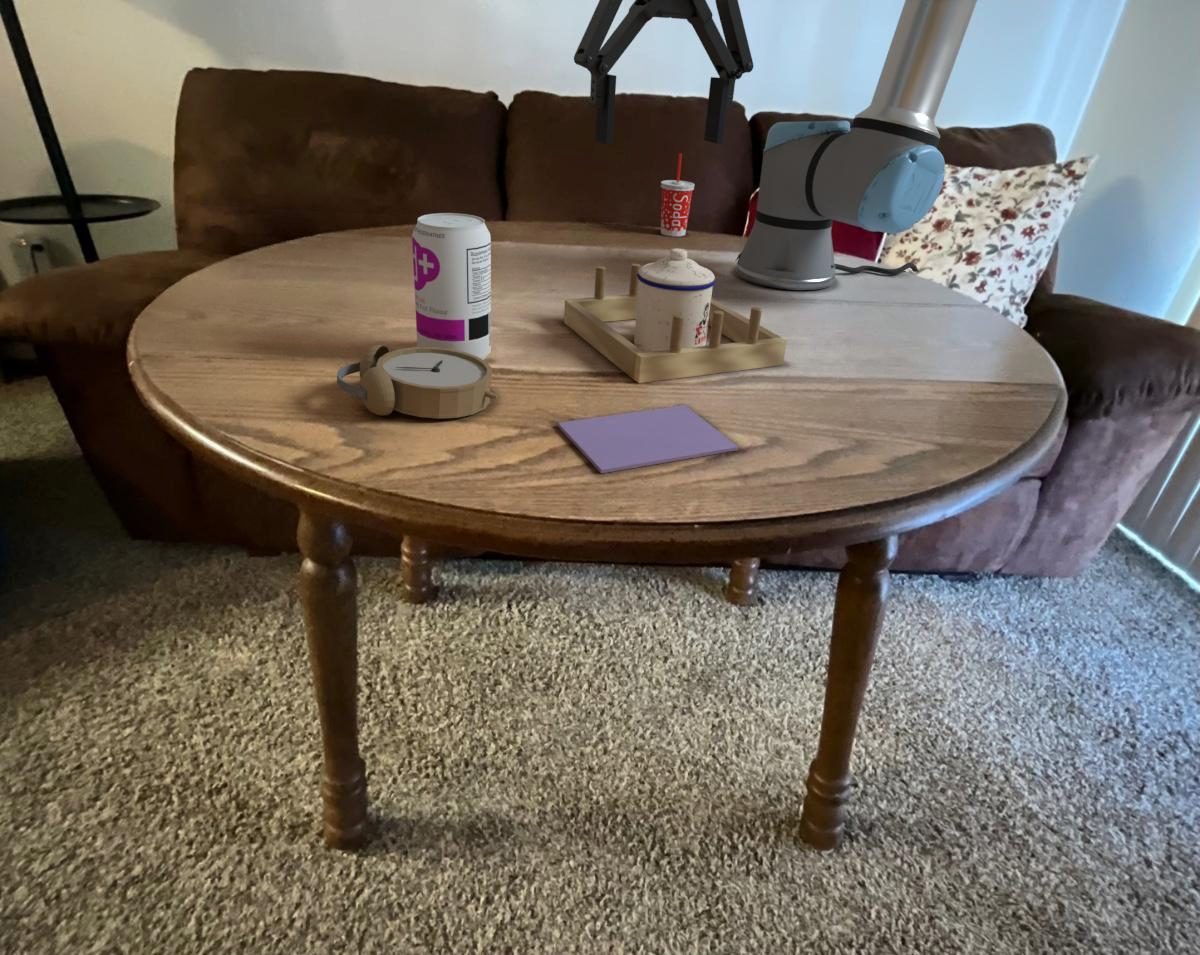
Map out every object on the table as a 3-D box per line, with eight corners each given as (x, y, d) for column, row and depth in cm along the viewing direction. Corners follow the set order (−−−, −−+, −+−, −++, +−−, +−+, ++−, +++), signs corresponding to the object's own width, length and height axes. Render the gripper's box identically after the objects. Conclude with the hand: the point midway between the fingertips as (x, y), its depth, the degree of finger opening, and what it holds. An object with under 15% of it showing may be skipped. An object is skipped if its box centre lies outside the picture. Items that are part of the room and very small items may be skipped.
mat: (684, 408, 86) (684, 404, 86) (737, 450, 78) (738, 446, 78) (557, 426, 81) (557, 422, 81) (601, 473, 73) (601, 469, 73)
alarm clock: (503, 390, 80) (338, 370, 75) (494, 437, 82) (333, 420, 77) (487, 349, 90) (340, 329, 85) (479, 392, 92) (335, 375, 87)
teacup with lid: (711, 362, 98) (723, 262, 93) (633, 358, 98) (640, 257, 93) (700, 328, 109) (711, 237, 103) (630, 325, 109) (636, 233, 103)
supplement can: (431, 372, 91) (425, 230, 84) (409, 347, 97) (402, 213, 90) (501, 363, 94) (502, 226, 87) (476, 339, 101) (474, 210, 93)
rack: (692, 310, 116) (698, 259, 112) (783, 365, 99) (793, 306, 96) (563, 322, 108) (565, 268, 105) (637, 383, 91) (643, 321, 88)
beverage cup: (654, 235, 155) (661, 154, 148) (658, 228, 160) (665, 150, 153) (688, 238, 154) (696, 157, 147) (690, 231, 159) (698, 152, 153)
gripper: (763, -75, 90) (737, 137, 100) (546, -101, 81) (541, 137, 91) (806, -80, 84) (773, 146, 95) (577, -108, 75) (568, 147, 85)
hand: (659, 142), depth 93 cm, fingers open, 13 cm apart
